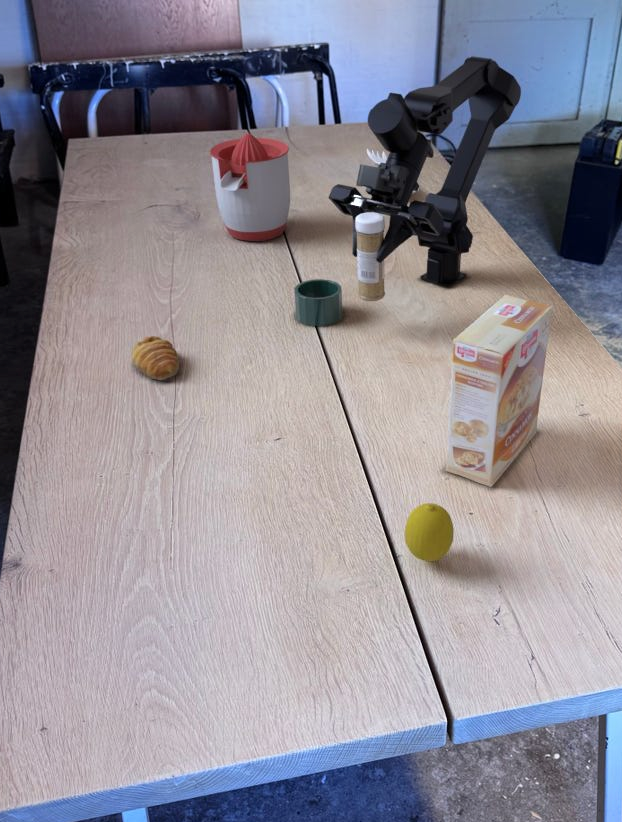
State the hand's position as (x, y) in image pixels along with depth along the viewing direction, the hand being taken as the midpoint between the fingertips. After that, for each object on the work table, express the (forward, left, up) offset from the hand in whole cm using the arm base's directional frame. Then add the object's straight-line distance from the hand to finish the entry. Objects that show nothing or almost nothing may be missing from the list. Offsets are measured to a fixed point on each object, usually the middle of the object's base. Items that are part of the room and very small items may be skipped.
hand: (366, 258), depth 138 cm
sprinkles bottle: (-1, 0, -7) cm, 7 cm away
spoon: (-64, -45, -13) cm, 80 cm away
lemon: (+39, +41, -13) cm, 58 cm away
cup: (0, -11, -13) cm, 17 cm away
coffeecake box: (+16, +35, -13) cm, 41 cm away
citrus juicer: (-20, -47, -13) cm, 53 cm away
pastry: (+29, -19, -13) cm, 37 cm away
